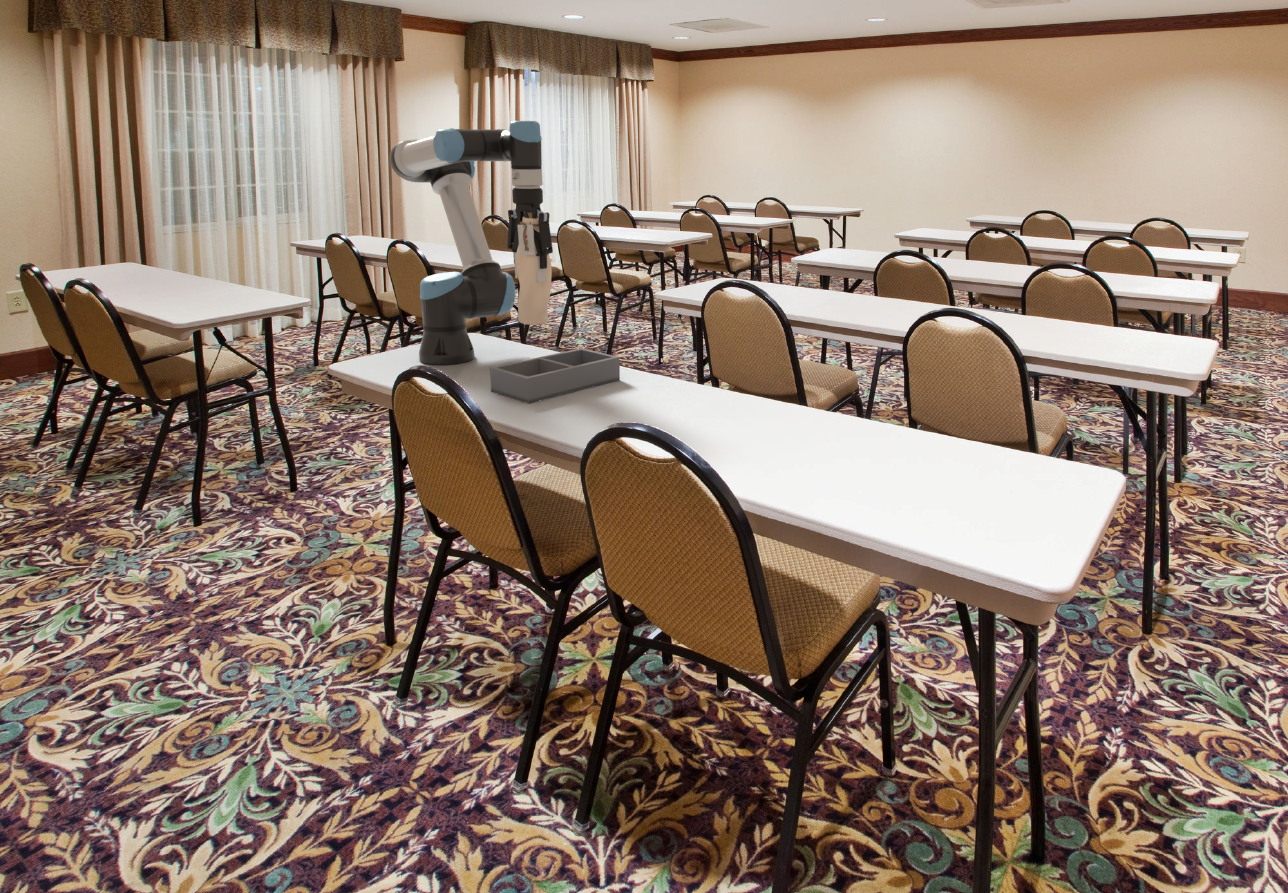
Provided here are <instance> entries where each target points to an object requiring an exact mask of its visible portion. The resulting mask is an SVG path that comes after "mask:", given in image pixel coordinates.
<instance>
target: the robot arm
mask: <svg viewBox="0 0 1288 893" xmlns="http://www.w3.org/2000/svg"><path fill="white" fill-rule="evenodd" d="M540 124H541V123H539V122H538V121H536V120H512V121H510V123H509V128H508V129H504V128H502V129H500V128H498V129H471V128H470V129H467V128H464V129H463V128H442V129H438V130H436V132H435V134H434V135H432V136H429V137H427V138H423V139H407V140H405V139H404V140H402V141H399V142H397V143H396V144H395V145H394V146H393V147H392V149H391V150H390V153H389V164H390V166H391V169H392V170H393V172H394V173H395V174H396V175H397V176H399V177H400V178H401V179H403V180H406V181H408V182H411V183H429V184H431V189H432V192H434V193H435V194H437V196H438V195H439V196H440V199H441V203H442V205H443V208H444V211H445V212H444V213H445V215H446V219H447V221H448V224H449V227H450V230H451V233H452V236H453V239H454V244H455V246H456V248H457V252H458V255H459V258H460V262H461V265H462V268H463V269H462V271H461V272H459V271H449V272H448V271H447V272H439V273H435V274H432V275H428V276H426V277H423V279H422V280H420V284H419V293H420V294H419V298H420V306H421V317H422V327H423V328H422V329H423V334H422V337H421V342H420V347H419V350H418V357H419V358H418V359H419V361H420V362H421V363H424V364H427V365H455V364H462V363H467V362H470V361H472V360H474V359H475V349H474V346H473V344H472V341H471V339H470V336H469V333H468V331H467V322H466V320H469V319H470V320H471V319H479V318H485V317H488V318H489V317H498V316H500V315H501V316H502V315H506V314H508V313H509V312H510V311H511V310H512V309H513V306H514V304H515V298H516V285H515V281H514V278H515V279H518V275H517V264H516V254H517V249H518V245H519V237H518V225H521V224H520V222H521V221H522V219H523V217H525V218H529V216H528V214H527V212H530V213H532V218H533V219H536V217H537V215H538V218H537V219H538V224H539V231H540V232H537V231H536V230H535V229H534V228H533V230H534V243H535V246H536V250H537V254H536V259H537V280H536V281H537V282H544V281H547V276H546V268H547V255H548V254H549V255H550V254H553V252H554V251H553V250H554V249H553V242H552V235H551V229H550V228H551V227H550V212H545V211H542V209H541V204H543V202H544V192H543V191H544V190H543V188H541V187H542V186H543V184H544V183H543V182H544V181H543V168H542V166H543V164H542V161H543V160H542V158H543V156H542V154H543V153H542V135H541V133H542V132H541V125H540ZM475 162H510V168H511V185H512V186H513V187H514V188H512V189H511V190H512V193H511V194H512V197H511V198H512V203H513V204H515V209H508V210H507V215H508V229H507V243H506V244H507V249H508V250H511V251H512V252H513V264H514V276H515V277H513V276H512V275H511V273H509V272H506V271H504V272H503V271H502V268H501V265H500V263H499V262H497V261H495V260H494V259H493V257H492V254H491V251H490V248H489V245H488V242H487V239H486V235H485V233H484V230H483V226H482V222H481V220H480V218H479V214H478V211H477V208H476V205H475V202H474V199H473V196H472V192H471V189H470V186H471V185H472V182H473V178H474V177H475V172H476V167H475ZM524 211H525V213H524ZM541 211H542V212H541ZM529 221H530V220H529ZM530 224H531V223H530ZM541 249H542V250H541Z"/></svg>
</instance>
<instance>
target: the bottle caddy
mask: <svg viewBox="0 0 1288 893" xmlns="http://www.w3.org/2000/svg"><path fill="white" fill-rule="evenodd" d="M620 359H621V358H620V356H617V355H612V354H607V353H604V352H600V351H595V350H590V349H587V348H582V347H581V348H577V349H576V348H575V349H572V350H568V351H567V350H566V351H563V352H558V353H553V354H548V355H543V356H539V357H534V358H528V359H525V360H520V361H515V362H512V363H511V362H510V363H506V364H501V365H497V366H491V367H489V377H490V378H489V379H490V392H491V393H494V394H496V393H497V395H500V396H504V397H506V398H509V399H512V398H513V400H515V401H518V400H519V402H521V403H525V402H526V404H528V405H529V404H532V403H531V402H533V403H537V402H540V401H539V400H541V401H544V399H545V400H548V399H551V398H555V397H559V396H564V395H568V394H571V393H575V392H579V391H583V390H586V389H590V388H594V387H598V386H602V385H605V384H609V383H613V382H618V381H620V378H621V376H620V373H621V372H620V371H621V370H620V369H621V368H620V366H621V364H620ZM567 393H568V394H567ZM547 398H548V399H547ZM536 401H537V402H536Z"/></svg>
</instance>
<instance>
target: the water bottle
mask: <svg viewBox="0 0 1288 893" xmlns="http://www.w3.org/2000/svg"><path fill="white" fill-rule="evenodd" d="M541 212H543V211H542V210H541ZM524 213H525V211H524ZM527 214H528V216H529V218H525V217H523V219H522V221H521V222H520V224H521V225H518V237H519V245H518V249H517V254H516V264H517V275H518V278H517V279H518V282H519V292H518V300H517V308H518V310H517V312H518V313H517V314H518V316H517V317H518V319H517V320H518V322H519V323H521V324H522V325H523V324H524V325H531V326H532V325H533V326H534V325H535V326H537V325H545V324H547V323H548V322H549V313H548V311H549V310H548V308H549V307H548V305H549V303H550V302H549V301H550V296H551V290H552V278H553V277H552V275H553V274H552V272H553V271H552V260H551V256H550V254H548V255H547V268H546V276H547V281H544V282H537V281H536V280H537V259H536V254H537V250H536V246H535V243H534V230H533V228H534V229H535V230H536V231H537V232H540V231H539V224H538V219H537V218H538V215H537V217H536V219H533V218H532V213H530V212H527ZM529 220H530V221H529ZM530 223H531V224H530ZM541 250H542V249H541Z"/></svg>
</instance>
